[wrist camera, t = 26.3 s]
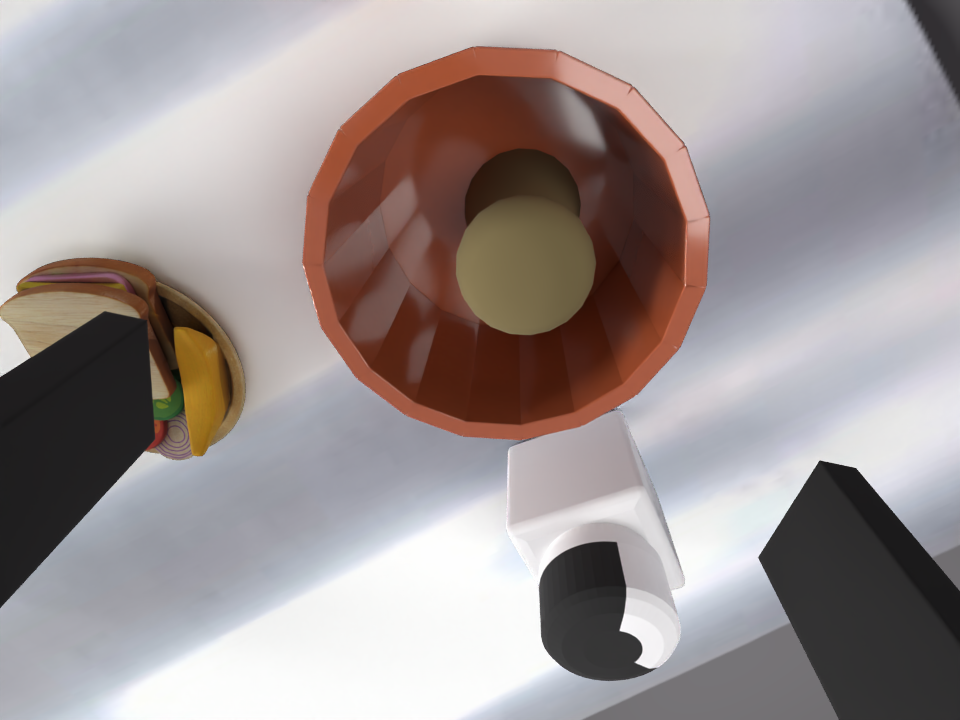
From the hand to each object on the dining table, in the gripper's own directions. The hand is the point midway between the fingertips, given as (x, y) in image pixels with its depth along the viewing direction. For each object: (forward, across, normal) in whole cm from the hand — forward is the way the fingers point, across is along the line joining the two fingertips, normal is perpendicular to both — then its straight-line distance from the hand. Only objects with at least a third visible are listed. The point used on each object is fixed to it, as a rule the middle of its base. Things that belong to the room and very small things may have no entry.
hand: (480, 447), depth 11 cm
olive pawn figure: (+21, +1, 0) cm, 21 cm away
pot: (+21, 0, 0) cm, 21 cm away
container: (+21, +10, -16) cm, 28 cm away
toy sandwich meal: (+22, -19, -14) cm, 32 cm away
